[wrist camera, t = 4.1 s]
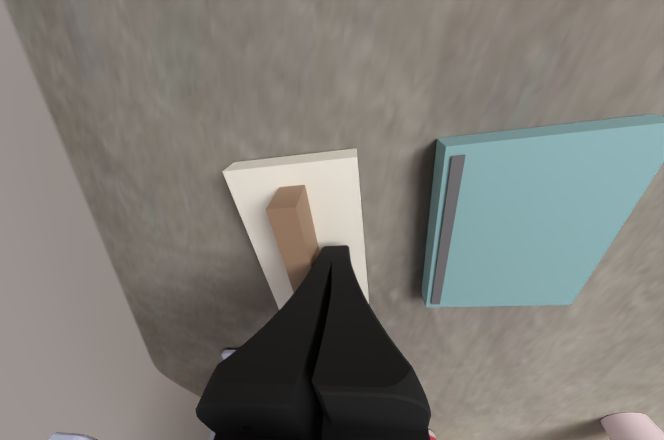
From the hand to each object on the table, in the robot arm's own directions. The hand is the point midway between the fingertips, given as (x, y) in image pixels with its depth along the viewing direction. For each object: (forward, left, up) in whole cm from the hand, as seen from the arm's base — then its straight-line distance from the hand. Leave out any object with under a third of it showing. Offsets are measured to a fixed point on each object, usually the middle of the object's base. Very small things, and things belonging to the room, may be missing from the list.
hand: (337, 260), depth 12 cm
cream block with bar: (0, +2, -2) cm, 3 cm away
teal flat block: (0, -9, -2) cm, 9 cm away
